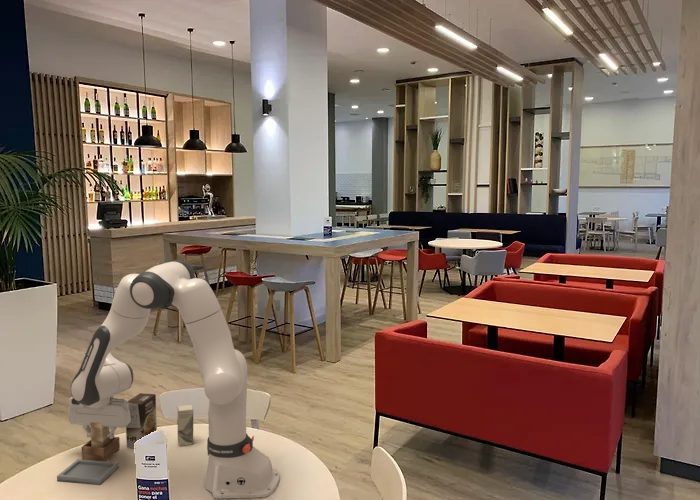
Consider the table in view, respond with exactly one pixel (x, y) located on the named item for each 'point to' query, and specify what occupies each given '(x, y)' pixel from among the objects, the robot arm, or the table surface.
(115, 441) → the holder
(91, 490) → the table surface
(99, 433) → the pin
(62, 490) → the table surface
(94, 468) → the tray
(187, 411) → the box
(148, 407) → the coffee box
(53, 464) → the table surface
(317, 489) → the table surface
